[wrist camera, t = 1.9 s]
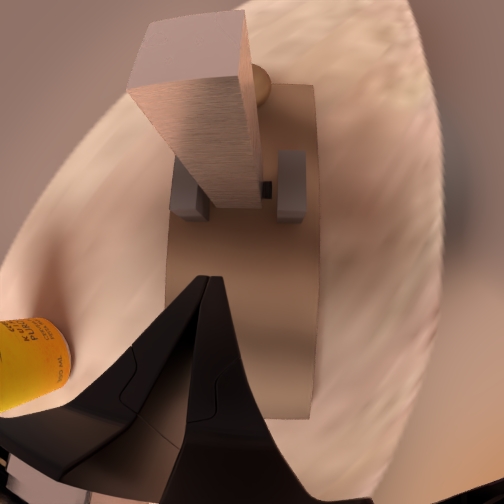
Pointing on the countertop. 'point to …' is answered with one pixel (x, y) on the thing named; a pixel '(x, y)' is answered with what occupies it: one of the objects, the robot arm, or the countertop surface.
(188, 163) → the lever
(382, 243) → the countertop surface
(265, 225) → the base
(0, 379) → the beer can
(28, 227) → the countertop surface
